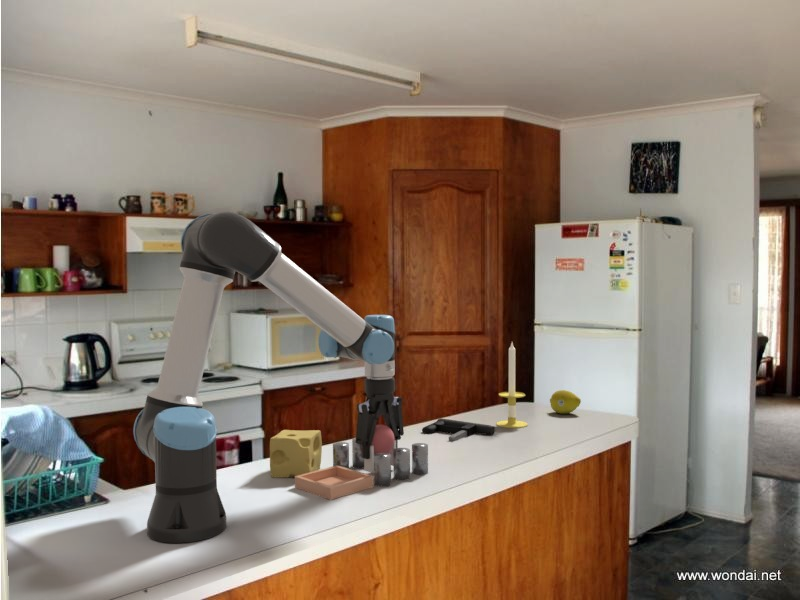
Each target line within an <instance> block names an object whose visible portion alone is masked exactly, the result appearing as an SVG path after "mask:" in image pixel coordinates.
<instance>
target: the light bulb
mask: <svg viewBox="0 0 800 600" xmlns="http://www.w3.org/2000/svg"><path fill="white" fill-rule="evenodd" d="M394 439H395V438H394V434H393V431H392V430H391V429H390V428H389V427H388V426H386V425H385V424H380V423H379V424H376V427H375V431H374V435H373V439H372V443H371V445H372V446H374V454H376V453H390V451H391V449H392V447H393V444H394ZM366 441H367V440H366Z"/></svg>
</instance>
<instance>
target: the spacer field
mask: <svg viewBox="0 0 800 600" xmlns="http://www.w3.org/2000/svg"><path fill="white" fill-rule="evenodd" d="M351 441H352V442H351V443H352V444H351V447H352V449H351V451H352V453H351V454H352V468H353V467H354V468H353V469H359V470H361V469H364V458H363V450H362V445H361V444H357V443H356V437H355V438H352V440H351ZM393 464H394V466H393V480H395V481H399V482H400V481H401V482H402V481H409V480H410V479H411V473H412V475H417V476H424V475H428V474H429V444H428V443H423V442H417V443H415V442H414V443H412V445H411V450H410V448H407V447H398V448H395V449H394V450H393ZM336 465H338V466H341V467H345V468H348V469H350V443H349V442H345V441H337V442H334V443H332V466H336ZM391 466H392V465H391V454H389V453H376V454H374V472H373V486H376V487H380V488H381V487H389V486H391V485H392V473H391V472H392V467H391Z"/></svg>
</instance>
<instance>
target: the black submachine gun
mask: <svg viewBox="0 0 800 600" xmlns="http://www.w3.org/2000/svg"><path fill="white" fill-rule="evenodd" d="M421 431H422V433H423V434H427V435H428V434H429V435H430V434H434V433H435V432H439V433H446V434H451V435H450V436H448V441H449V442H455V441H458V440H461V439H463V438H466V437H470V436H473V435H476V434H479V435H480V434H481V435H487V436H490V435H491V436H493V435H494V434H495V432H496V429H495V426H493V425H491V424H483V423H476V422H468V421H463V420H454V419H448V418H447V419H446V418H440V417H439V418H438V419H437V420H436V421H435V422H433V423H430V424H428V425H426V426H424V427H422V428H421Z"/></svg>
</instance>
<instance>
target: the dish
mask: <svg viewBox="0 0 800 600" xmlns="http://www.w3.org/2000/svg"><path fill="white" fill-rule="evenodd" d="M294 488H295V489H299V490H302V491H304V492H307V493H310V494H313V495H316V496H319V497H322V498H325V499H327V500H330V501H331V500H334V499H338V498H340V497H345V496H348V495H351V494H353V493H354V494H355V493H358V492H361V491H364V490H368V489H371V488H374V475H371V474H369V473H364V472H362V471H358V470H356V469H351V468H349V469H348V468H345V467H341V466H338V465H336V466H333V465H332V466H330V467H325V468H320V469H319V470H317V471H313V472H310V473H306V474H302V475H298V476H295V477H294Z"/></svg>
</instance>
